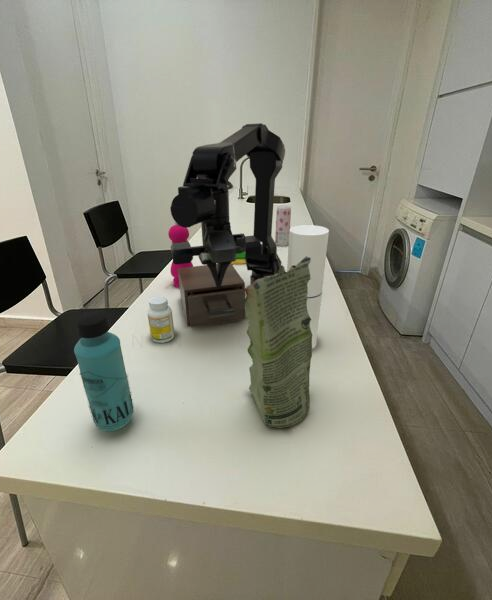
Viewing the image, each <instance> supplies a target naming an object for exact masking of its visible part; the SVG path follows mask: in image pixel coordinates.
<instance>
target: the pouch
mask: <svg viewBox="0 0 492 600" xmlns="http://www.w3.org/2000/svg"><path fill="white" fill-rule="evenodd" d="M310 261H311V258H310V257H309V258H308V257H307V256H306V257H305V258H304V259H302V260H301V261H300V262H299V263H298V264H297V265H293V266H291V268H290V269H289V271H288V272H287V270H286V269H285V266H284V265H283V264H281V268H280V269H279V271H278V272H277V273H276V274H275V275H274V276H264V277H263V278H260V279H257V280H255V281H254V282H253V283H252V284H251V285H250V284H249V286H247V287H245V301H244V305H245V318H246V319H247V321H248V328H247V329H246V334H247V336H248V337H249V340H250V344H249V346H248V348H247V353H248V355H249V357H250V358H251V360H252V364H251V365H250V366H249V375H250V378H249V379H250V385H249V387H248V389H249V391H250V393H251V395H252V397H253V400H254V402H255V404H256V408H257V409H258V411H259V412H260V415H261V418H262V421H263V423H264V424H265V426H266V427H267V428H277V429H283V428H287V427H290V426H295V425H296V424H298V423H300V422H301V421H302V420H304V417H306V416H307V414H308V412H309V410H310V401H311V399H310V374H311V373H310V372H311V362H312V361H311V360H312V357H313V349H312V332H311V329H310V321H311V318H310V316H309V314H308V311H307V294H308V292H307V291H308V287H307V284H308V281H309V280H310V271H309V267H308V266H309V263H310Z"/></svg>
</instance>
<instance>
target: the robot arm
mask: <svg viewBox="0 0 492 600" xmlns="http://www.w3.org/2000/svg"><path fill="white" fill-rule="evenodd" d="M245 156H246V157H247V158H248V159H249V169H250V170H251V172H252V174H253V176H254V178H255V191H254V192H255V193H254V215H253V235H245V233H235V234H234V233H233V232H232V226H231V222H230V195H229V192H230V191H229V190H232V189H233V188H234V184H233V183H232V182H230V178H231V177H232V175H233V174H234V173H235V172H236V170H237V163H238V161H240V160H241V159H243V157H245ZM285 158H286V146H285V144H284V142H283V140H282V139H281V137H280V136H279V135H277V134H275V133H274V132H272V131H271V130H270V129H269V128H268V127H267V124H264V123H261V122H260V123H246V124H245V125H242V126H241V128H240V129H238V130H237V131H235V132H234V133H231V135H229V136H227V137H226V138H225V139H223V140H221V141H220V142H217V143H209V144H203V145H199V146H197V147H195V149H194V150H193V151H192V155H191V157H190V160H189V163H188V168H187V170H186V173H185V176H184V180H183V183H182V185H181V186H178V188H177V193H178V194H177V195H176V196H174V197H173V199H172V201H171V204H170V208H169V209H170V214H171V217H172V220H174V223H175V222H176V223H177V224H178V225H180V226H181V227H184V228H187V229H189V228H192V227H194V226H196V225H198V224H200V226H201V239H202V245H196V246H191V243H190V241H188V242H183V243H173V244H171V245H172V246H171V245H170V255H171V259H172V262H173V263H174V264H185V263H190V262H192V261H193V260H194V257H197V256H198V259H199V261H200V263H201V265H202V266H203V265H208V267H209V269H210V271H211V274H212V276H213V279H214V281H215V284H216V286H217V287H221V284H222V281H223V278H224V275H225V272H226V270H227V268H228V266H229V264H230V263H231V262H233V261H236V254H240V253H242V252H245V253H246V254H245V261H246V263H245V265H246V270H247V271H251V274H250V276H249V277H250V279H249V280H250V282H249V283H250V284H249V286H250V285H251V284H252V283H253V282H254V281H255V280H257V279H260V278H263V277H264V276H274V275H275V274H276V273H277V272H278V271H279V269H280V268H281V266H282V265H283V264H282V260H281V258H280V257H279V255H278V253H277V252H278V245H276V244H275V239H274V238H273V236H272V234H273V232H272V231H273V216H274V200H275V184H276V178H277V177H278V175H279V174H280V172H281V171H282V169H283V165H284V160H285ZM216 264H217V268H216Z"/></svg>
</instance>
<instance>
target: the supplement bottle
mask: <svg viewBox="0 0 492 600" xmlns="http://www.w3.org/2000/svg"><path fill="white" fill-rule="evenodd" d="M148 306H149V308H148V309H147V319H148V326H149V331H150V338H151V340H152V341H153V342H154V343H158V344H163V343H167V342H169V341H171V340H173V339H174V338H175V329H174V319H173V309H172V307H171V306H170V305H169V302H168V298H167V297H166V296H163V295H157V296H152V297H151V298H149V299H148Z"/></svg>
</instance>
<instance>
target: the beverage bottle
mask: <svg viewBox="0 0 492 600" xmlns="http://www.w3.org/2000/svg"><path fill="white" fill-rule="evenodd" d="M75 322H76V323H75V324H76V331H77V335H78V336H79V337H80V338H79V340H78V341H77V343H76V344H75V345H74V348H73V353H74V355H75V358H76V362H77V366H78V369H79V374H78V375H79V376H80V378H81V382H82V385H83V389H84V393H85V396H86V398H87V406H88V410H89V413H90V417H91V418H92V422H93V424H94V426H95V427H97V429H99V430H101V431H104V432H112V431H113V432H114V431H117V430H120V429H122V428H123V427H126V425H128V424H129V422H130V421H132V418H133V416H134V413H135V408H134V406H135V405H134V403H133V402H134V400H133V398H132V391H131V387H130V384H131V383H130V382H129V375H128V373H127V370H126V366H125V361H124V356H123V351H122V346H121V339H120V338H119V336H118V335H116V334H115V333H113V332H110V331H109V330H110V323H109V321H108V319H107V315H106V314H105V313H104V312H101V311H92V312H87V313H85V314H82V315H81V316H79V317H78V318H77V319H76V321H75Z"/></svg>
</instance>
